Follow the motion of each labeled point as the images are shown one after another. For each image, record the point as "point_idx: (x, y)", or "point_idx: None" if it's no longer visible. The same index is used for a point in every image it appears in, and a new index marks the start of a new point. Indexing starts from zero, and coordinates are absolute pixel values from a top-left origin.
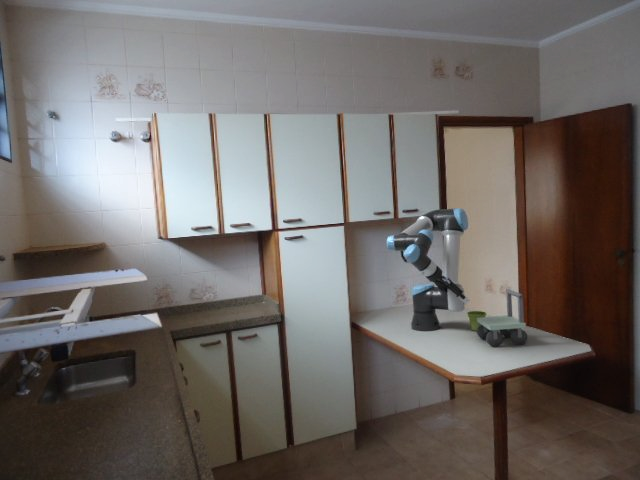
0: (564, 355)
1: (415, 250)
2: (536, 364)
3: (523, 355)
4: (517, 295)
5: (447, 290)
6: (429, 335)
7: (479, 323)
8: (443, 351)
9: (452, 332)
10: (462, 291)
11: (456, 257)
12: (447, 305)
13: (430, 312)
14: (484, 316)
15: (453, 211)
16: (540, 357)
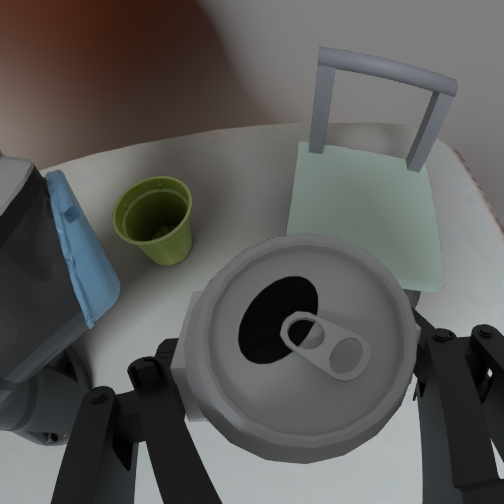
0: (476, 192)
1: None
2: None
3: (476, 267)
4: (446, 88)
5: (271, 457)
6: (146, 449)
7: (188, 233)
8: (381, 488)
9: (152, 346)
10: (494, 333)
11: None
12: (86, 330)
13: (34, 383)
14: (186, 196)
15: None
16: (489, 241)
